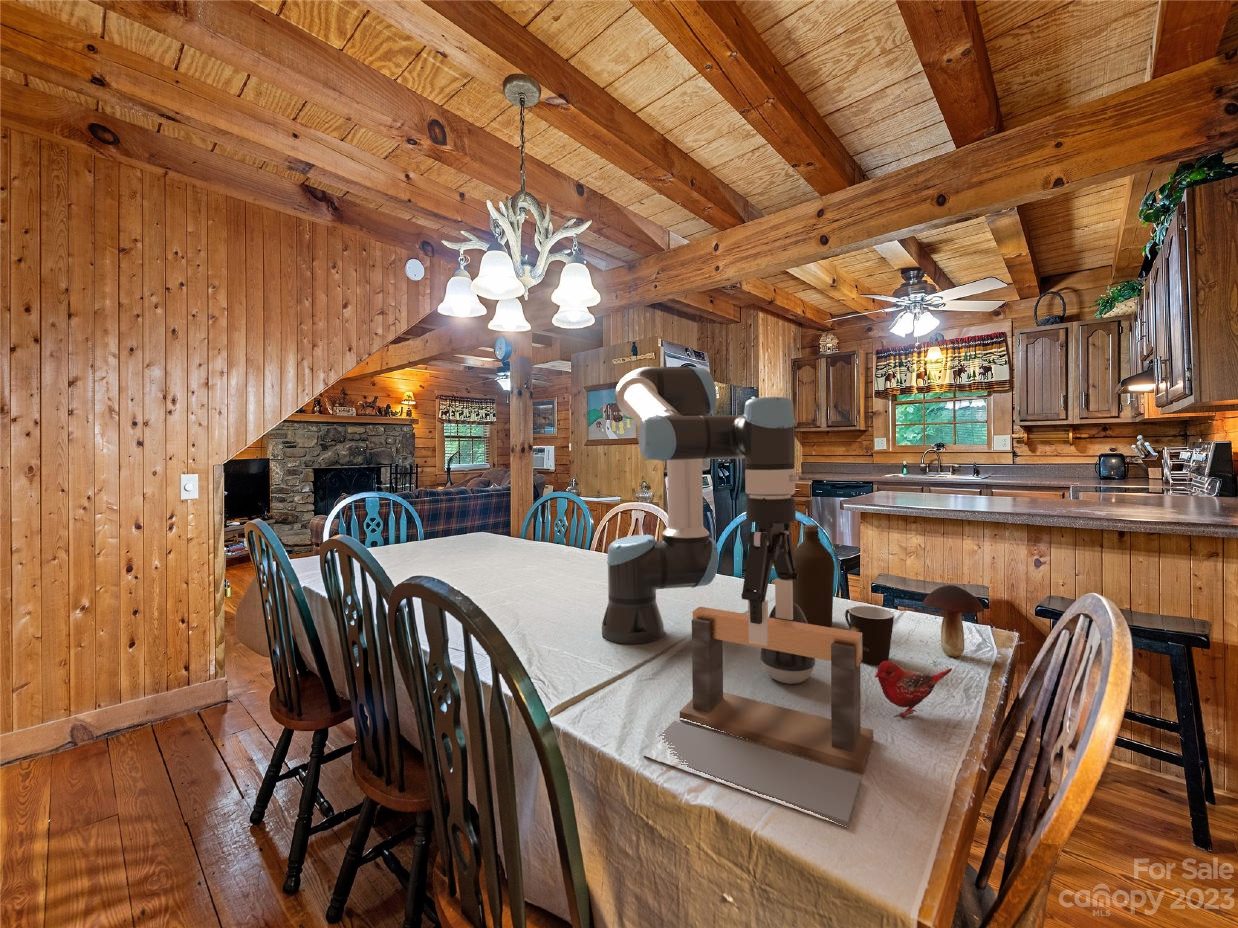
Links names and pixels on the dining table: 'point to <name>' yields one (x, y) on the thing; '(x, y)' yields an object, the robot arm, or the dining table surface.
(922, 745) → the dining table surface
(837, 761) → the rail stand
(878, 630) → the coffee mug
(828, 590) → the olive oil
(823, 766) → the rubber mat
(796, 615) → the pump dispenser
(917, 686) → the decorative bird figurine
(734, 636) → the copper rail
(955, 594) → the decorative mushroom
